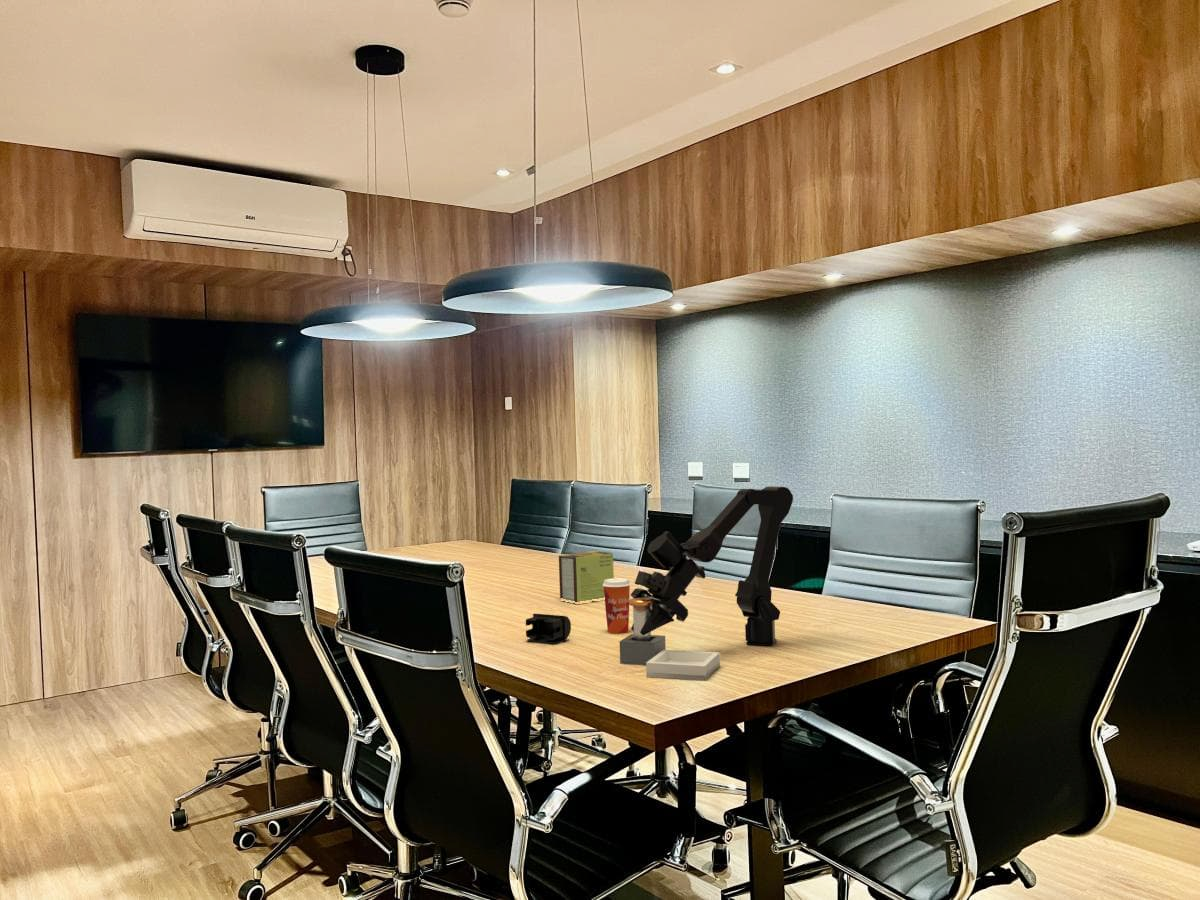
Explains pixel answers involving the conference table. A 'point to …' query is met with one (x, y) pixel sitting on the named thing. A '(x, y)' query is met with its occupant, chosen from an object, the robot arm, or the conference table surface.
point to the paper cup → (617, 604)
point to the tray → (683, 664)
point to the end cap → (548, 629)
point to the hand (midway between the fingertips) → (637, 632)
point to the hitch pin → (640, 616)
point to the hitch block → (640, 649)
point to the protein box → (584, 575)
